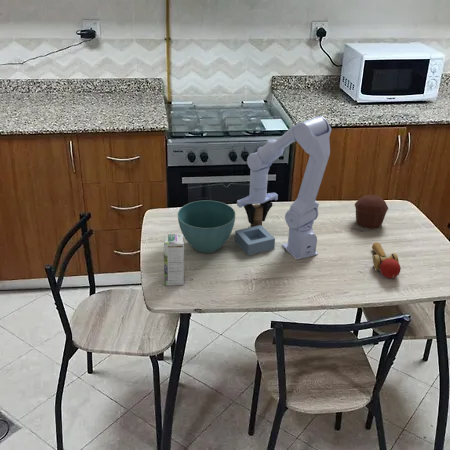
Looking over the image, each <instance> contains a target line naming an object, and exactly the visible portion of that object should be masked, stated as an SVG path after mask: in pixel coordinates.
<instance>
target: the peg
mask: <svg viewBox="0 0 450 450" xmlns="http://www.w3.org/2000/svg"><path fill="white" fill-rule="evenodd" d="M253 207H254V208H255V212H254V218H253V224H250V227H254V226H259V225H261V226H263V221H262V220H263V206H262V205H260V204H253Z"/></svg>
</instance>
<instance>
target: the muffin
mask: <svg viewBox="0 0 450 450" xmlns="http://www.w3.org/2000/svg"><path fill="white" fill-rule="evenodd" d="M354 207H355V221H356V223H357V226H360V227H362V228H363V229H369V230H375V229H380V227H381V226H382V225H383V223H384V220H385V216H386V214H387V212H388V210H389V207H388V205H387V202H386V201H385V200H384V198H382V197H381V196H378V195H375V194H367V195H364V196H362V197H360V198H359V199H357V201H356V202H355V203H354Z"/></svg>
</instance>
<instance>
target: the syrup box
mask: <svg viewBox="0 0 450 450" xmlns="http://www.w3.org/2000/svg"><path fill="white" fill-rule="evenodd" d="M163 235H164V236H163V269H164V270H163V275H164V286H166V287H167V286H170V287H171V286H184V284H185V242H184V241H185V237H184V236H183V234H182V233H165V234H163Z"/></svg>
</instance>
